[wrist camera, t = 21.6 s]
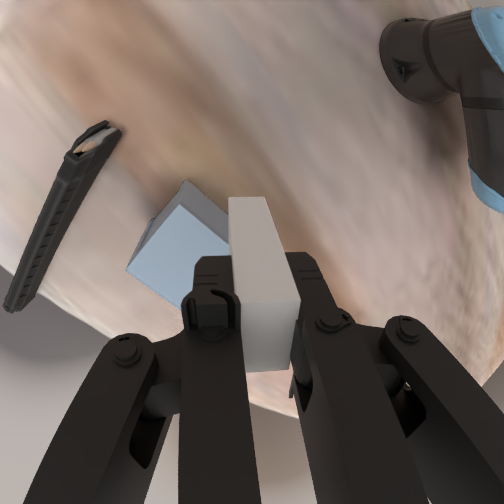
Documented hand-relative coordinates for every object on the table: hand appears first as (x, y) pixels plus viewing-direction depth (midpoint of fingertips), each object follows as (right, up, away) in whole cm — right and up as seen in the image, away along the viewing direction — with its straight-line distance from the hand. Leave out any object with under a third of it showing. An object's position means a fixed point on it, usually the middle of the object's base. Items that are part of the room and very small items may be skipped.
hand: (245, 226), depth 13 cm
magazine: (-27, +4, +25) cm, 37 cm away
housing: (-6, +1, +29) cm, 30 cm away
